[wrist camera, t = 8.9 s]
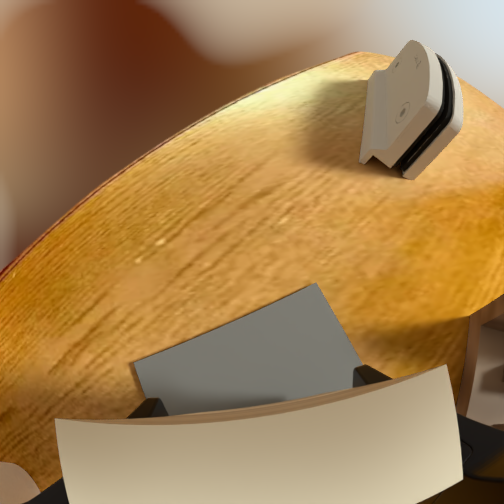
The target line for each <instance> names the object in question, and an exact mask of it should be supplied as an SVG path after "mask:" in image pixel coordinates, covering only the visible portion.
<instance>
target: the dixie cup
mask: <svg viewBox="0 0 504 504" xmlns="http://www.w3.org/2000/svg"><path fill="white" fill-rule="evenodd" d="M40 493H41V492H40V490H39V488H38V487H37V485H36V483H35V482H34V480H33V479H32V478H31V477H30V475H29V474H28V473H27V472H26V471H25V470H24V469H23V468H21V467H20V466H18V465H16V464H14V463H7V462H0V504H22V503H25V502H27V501H29V500H31V499H32V498H34V497H35V496H37V495H38V494H40Z"/></svg>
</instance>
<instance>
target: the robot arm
mask: <svg viewBox="0 0 504 504" xmlns="http://www.w3.org/2000/svg"><path fill="white" fill-rule="evenodd" d="M388 380H392V378H390V377H388V376H386V375H385V374H383V373H381V372H379V371H377V370H376V369H374V368H372V367H370V366H368V365H361V366H358V367H355V368H354V370H353V384H352V388H355V387H361V386H366V385H370V384H375V383H379V382H384V381H388ZM456 415H457V422H458V429H459V437H460V446H461V456H462V469H463V480H461V481H459V482H457V483H456V484H454V485H452V486H450V487H449V488H447V489H445V490H443V491H441V492H439V493H437V494H435V495H433V496H431V497H429V498H427V499H425V500H423V501H421V502H419V503H417V504H504V430H501V429H497V428H494V427H491V426H488V425H486V424H483V423H480V422H477V421H475V420H472V419H470V418H468V417H465V416H463V415H461V414H459V413H457V412H456ZM165 416H169V414H168V412H167V410H166V408H165V406H164V404H163V402H162V400H161V399H160V398H158V397H153V398H147V399H146V400H145V401H144V402H143V403H142V404H141V405H140V406H139V407H138V408H137V409H135V410H134V411H133V412H132V413H131V414H130V415H129V416H128V417H127V418H126V419H137V418H153V417H165ZM22 504H69V500H68V496H67V492H66V488H65V483H64V478H63V477H62V478H61V479H59V480H58V481H57V482H55V483H54V484H53V485H51V486H50V487H48V488H47V489H45V490H44V491H43V492H41V493H40V494H38V495H37V496H35V497H34V498H32V499H31V500H29V501H27V502H25V503H22Z"/></svg>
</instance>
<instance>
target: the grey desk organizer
mask: <svg viewBox="0 0 504 504" xmlns="http://www.w3.org/2000/svg"><path fill="white" fill-rule="evenodd" d="M456 412H457V413H459V414H461V415H463V416H465V417H468V418H470V419H472V420H475V421H477V422H480V423H483V424H486V425H488V426H491V427H494V428H497V429H501V430H504V294H503V295H501V296H500V297H498V298H497V299H495V300H494V301H492V302H491V303H489V304H488V305H486V306H484V307H483V308H481V309H480V310H478V311H476V312H475V313H473V314H471V315H470V321H469V332H468V341H467V349H466V357H465V363H464V369H463V375H462V381H461V386H460V391H459V395H458V400H457V404H456Z"/></svg>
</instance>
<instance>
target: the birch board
mask: <svg viewBox="0 0 504 504" xmlns="http://www.w3.org/2000/svg"><path fill="white" fill-rule="evenodd" d="M55 427H56V435H57V443H58V450H59V457H60V463H61V468H62V473H63V478H64V483H65V488H66V492H67V496H68V500H69V504H417V503H419V502H421V501H423V500H425V499H427V498H429V497H431V496H433V495H435V494H437V493H439V492H441V491H443V490H445V489H447V488H449V487H450V486H452V485H454V484H456V483H457V482H459V481H461V480H463V469H462V456H461V446H460V437H459V429H458V422H457V415H456V409H455V403H454V398H453V392H452V387H451V382H450V378H449V373H448V369H447V365H446V364H445V365H442V366H439V367H436V368H433V369H429V370H426V371H422V372H419V373H415V374H412V375H408V376H404V377H400V378H396V379H392V380H388V381H384V382H379V383H375V384H370V385H366V386H361V387H355V388H350V389H344V390H339V391H333V392H326V393H322V394H317V395H313V396H308V397H304V398H299V399H294V400H288V401H283V402H277V403H271V404H265V405H259V406H252V407H245V408H237V409H228V410H219V411H208V412H200V413H192V414H184V415H175V416H165V417H153V418H137V419H108V420H88V419H59V418H55Z"/></svg>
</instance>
